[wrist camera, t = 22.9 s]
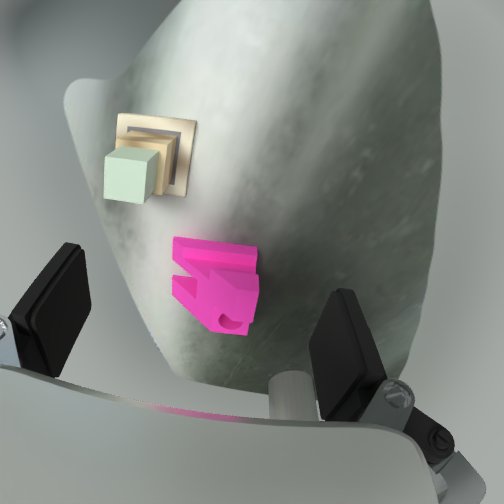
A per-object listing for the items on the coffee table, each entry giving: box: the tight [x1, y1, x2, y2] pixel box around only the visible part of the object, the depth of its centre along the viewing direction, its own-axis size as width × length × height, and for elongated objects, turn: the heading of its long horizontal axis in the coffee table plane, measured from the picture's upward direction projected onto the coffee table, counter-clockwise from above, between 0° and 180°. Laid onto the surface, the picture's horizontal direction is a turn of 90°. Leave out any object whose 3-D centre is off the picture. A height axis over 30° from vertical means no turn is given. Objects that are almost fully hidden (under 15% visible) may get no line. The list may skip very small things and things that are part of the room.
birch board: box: [115, 113, 196, 197], centre depth 37 cm, size 10×10×1 cm
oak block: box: [116, 130, 177, 196], centre depth 35 cm, size 6×6×5 cm
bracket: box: [172, 237, 259, 335], centre depth 43 cm, size 12×10×10 cm
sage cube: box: [104, 146, 159, 204], centre depth 31 cm, size 4×4×4 cm
